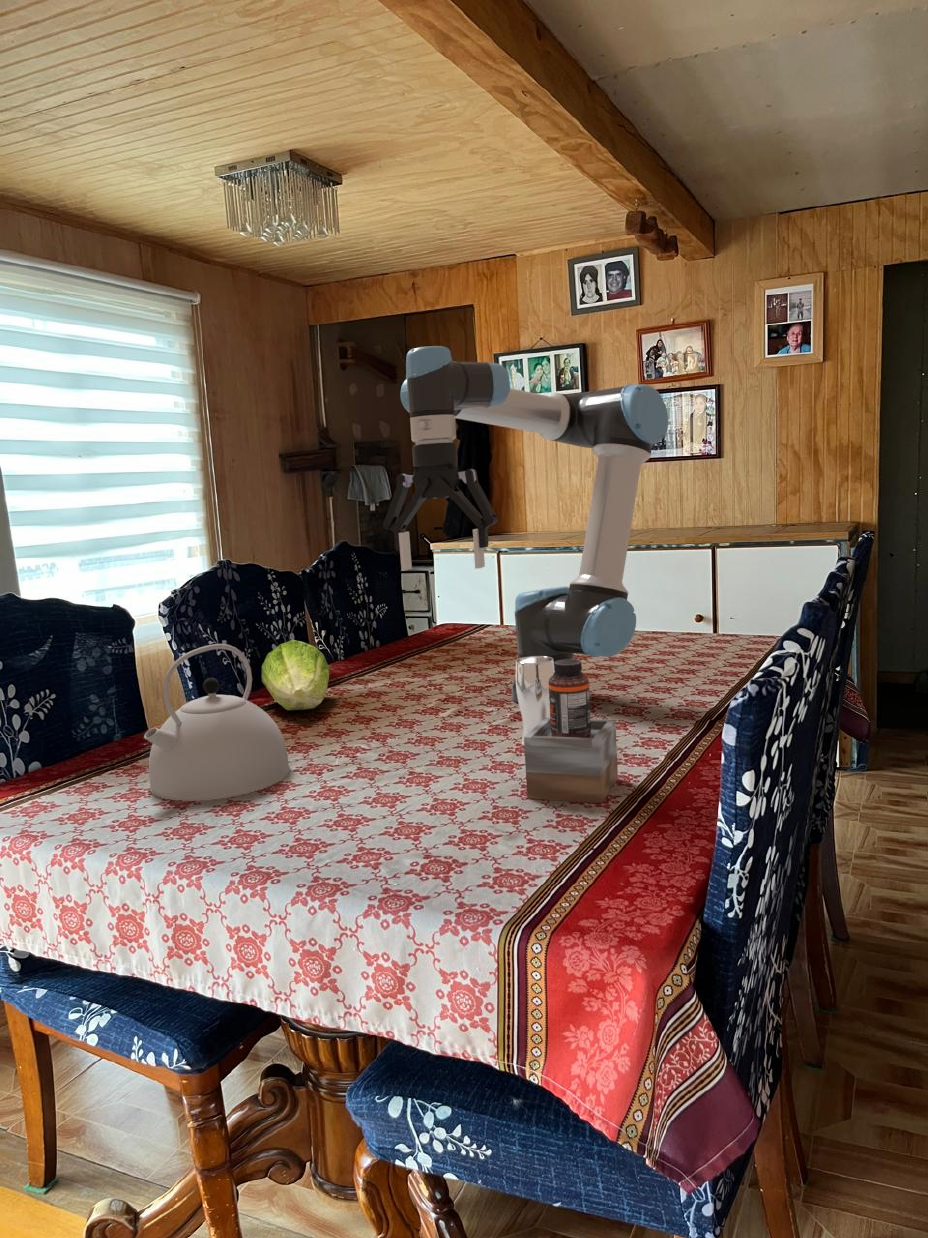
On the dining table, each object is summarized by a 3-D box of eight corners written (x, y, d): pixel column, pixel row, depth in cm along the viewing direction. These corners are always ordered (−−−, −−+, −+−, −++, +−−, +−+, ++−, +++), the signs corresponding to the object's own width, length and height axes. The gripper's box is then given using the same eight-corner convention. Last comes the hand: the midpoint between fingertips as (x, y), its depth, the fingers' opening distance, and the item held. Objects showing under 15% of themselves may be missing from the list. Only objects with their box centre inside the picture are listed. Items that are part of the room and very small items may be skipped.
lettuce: (341, 723, 191) (268, 738, 189) (332, 690, 215) (267, 703, 212) (329, 655, 188) (254, 670, 185) (321, 629, 211) (255, 641, 209)
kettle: (201, 815, 139) (184, 666, 135) (108, 794, 152) (91, 658, 148) (317, 767, 159) (305, 636, 156) (227, 752, 172) (214, 631, 168)
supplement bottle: (547, 732, 141) (544, 659, 139) (586, 729, 141) (583, 656, 140) (554, 743, 135) (551, 666, 133) (595, 740, 135) (592, 663, 134)
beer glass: (562, 738, 166) (558, 655, 164) (553, 749, 159) (549, 663, 157) (525, 737, 168) (520, 655, 166) (514, 748, 162) (509, 663, 160)
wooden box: (548, 774, 146) (545, 717, 145) (617, 778, 142) (615, 720, 141) (527, 798, 136) (523, 737, 135) (601, 803, 132) (598, 740, 131)
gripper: (357, 448, 158) (367, 573, 161) (496, 436, 149) (504, 569, 152) (377, 448, 165) (386, 568, 168) (511, 437, 155) (518, 564, 159)
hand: (442, 568), depth 160 cm, fingers open, 13 cm apart
